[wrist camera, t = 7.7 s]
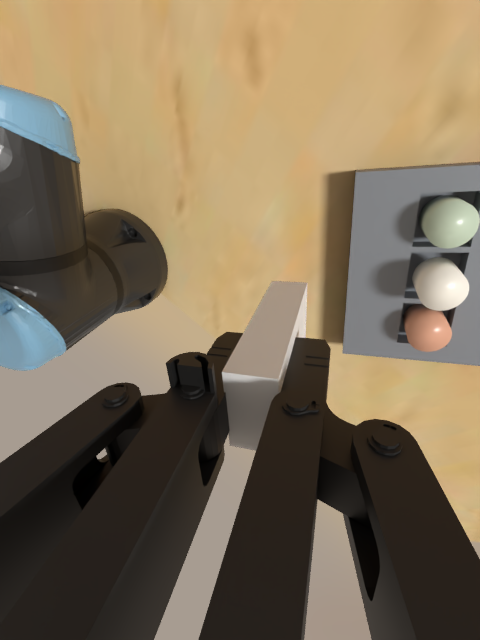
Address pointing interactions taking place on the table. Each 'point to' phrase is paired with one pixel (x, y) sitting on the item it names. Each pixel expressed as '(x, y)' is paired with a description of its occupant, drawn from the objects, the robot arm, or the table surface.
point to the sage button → (449, 221)
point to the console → (407, 261)
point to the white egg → (440, 284)
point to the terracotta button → (426, 328)
